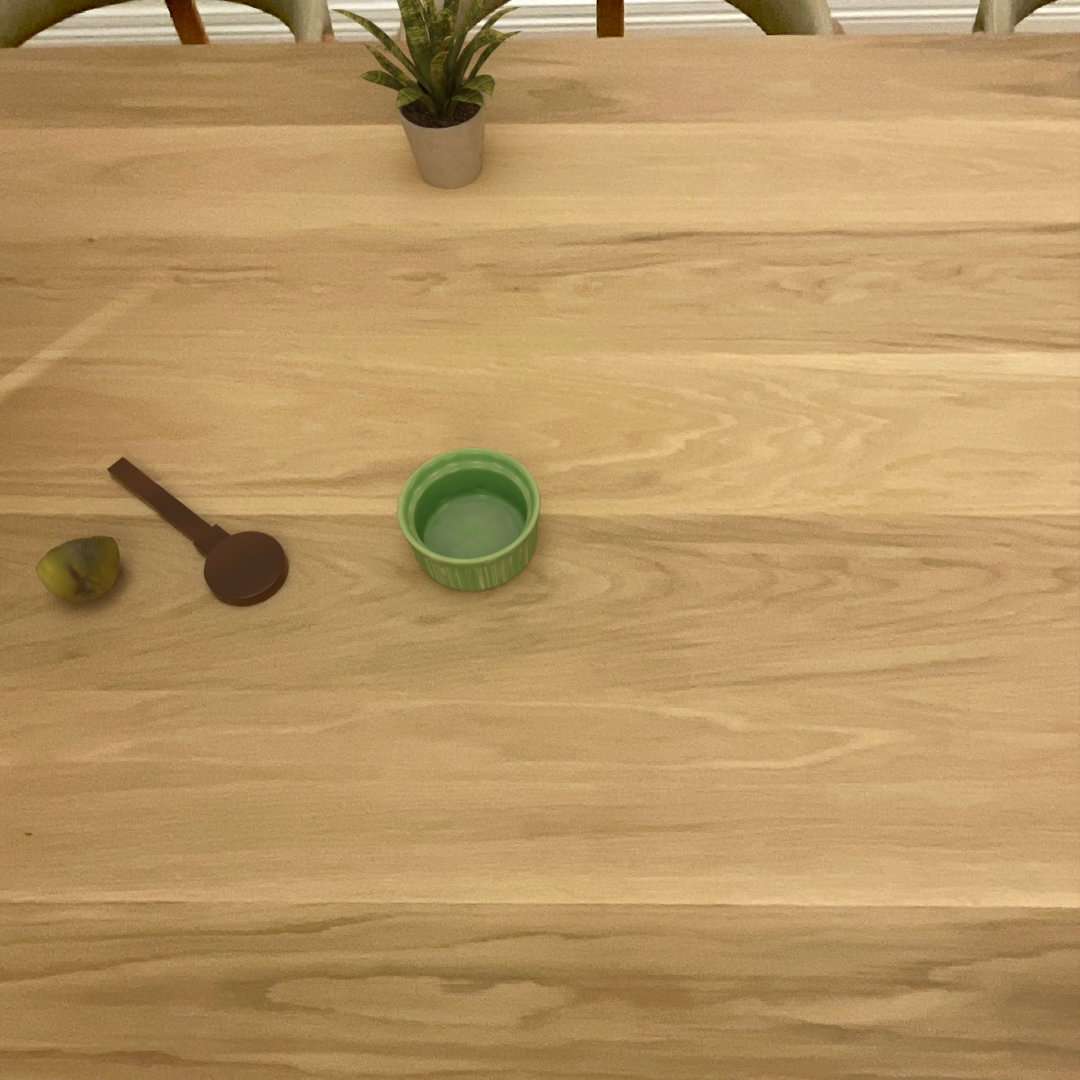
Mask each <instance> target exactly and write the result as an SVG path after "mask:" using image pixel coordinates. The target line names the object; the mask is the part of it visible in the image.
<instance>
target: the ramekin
mask: <svg viewBox="0 0 1080 1080" xmlns="http://www.w3.org/2000/svg"><path fill="white" fill-rule="evenodd" d="M541 500H542V499H541V492H540V489H539V485H538V483H537V480H536V479H535V477H534V475H533V474H532V473H531V471H530V470H529V469H528V467H527V466H525V465H524V464H523V463H522V462H521V461H519V459H517V458H515V457H513V456H511V455H510V454H508V453H506V452H503V451H500V450H496V449H493V448H486V447H479V446H478V447H477V446H476V447H473V446H472V447H462V448H460V447H459V448H456V449H455V448H454V449H451V450H447V451H445V452H441V453H439V454H437V455H434V456H433V457H431V458H429V459H428V460H426V461H425V462H423V463H422V464H421V465H419V466H418V468H416V469H415V470H414V471H413V472H412V473H411V475H409V477H408V478H407V480H406V481H405V483H404V484H403V486H402V488H401V491H400V493H399V496H398V499H397V506H396V514H397V515H396V516H397V523H398V525H399V528H400V531H401V533H402V535H403V536H404V538H405V540H406V541H407V543H408V544H409V545H410V547H411V549H412V551H413V554H414V556H415V559H416V561H417V563H418V564H419V566H420V567H421V569H422V570H423V571H424V572H425V574H426V575H427V576H429V577H430V578H431V579H432V580H433V581H435V582H436V583H438V584H440V585H442V586H445V587H447V588H449V589H453V590H455V591H463V592H480V591H481V592H482V591H486V590H490V589H493V588H497V587H499V586H501V585H504V584H505V583H507V582H509V581H510V580H512V579H514V578H515V577H516V576H518V575H519V574H520V573H521V572H523V570H524V569H525V568H526V567H527V566H528V564H529V563H530V561H531V559H532V557H533V556H534V553H535V549H536V546H537V541H538V522H539V518H540V514H541V505H542V504H541V503H542V501H541Z"/></svg>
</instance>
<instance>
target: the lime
mask: <svg viewBox="0 0 1080 1080" xmlns="http://www.w3.org/2000/svg"><path fill="white" fill-rule="evenodd" d="M119 548H120V547H119V545H118V543H117V541H116V539H114V537H113V536H108V535H92V536H88V537H81V538H80V537H79V538H74V539H71V540H67V541H65V542H61V544H59V545H57V546H55V547H53V548H51V549H49V551H47V552H46V553H45V555H44V556H43V557H42V558H41V559H40V560H39V561H38V562H37V564H36V566H35V572H36V574H37V577H38V580H40V582H41V584H42V585H43V586H44V587H45V589H46V590H47V591H48V592H50V593H51V594H52V595H53V596H55V597H58V598H60V599H63V600H65V601H68V602H73V603H85V602H90V601H93V600H96V599H97V598H99V597H101V596H103V595H104V594H105V593H107V592H108V591H110V589H112V587H113V586H114V584H115V583H116V581H117V580H118V577H119V573H120V568H121V567H120V566H121V556H120V555H121V554H120V553H121V552H120V549H119Z"/></svg>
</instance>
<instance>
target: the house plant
mask: <svg viewBox="0 0 1080 1080" xmlns="http://www.w3.org/2000/svg"><path fill="white" fill-rule="evenodd" d="M489 1H490V0H474V1H473V2H472V4H471V5H470V7H469V9H468V10H467V12H466V13H465V16H464V20H463V23H462V25H461V27H460V30H459V32H458V34H457V36H456V25H457V18H458V13H459V12H458V11H459V6H460V0H444V1H443V4H442V6H441V7H440V9H439V11H438V12H437V7H436V4H435V3H436V2H435V0H422V1H421V0H396V2H397V6H398V9H399V12H400V16H401V20H402V21H401V22H402V24H403V28H404V33H405V34H404V35H405V41H406V45H407V48H408V52H409V56H410V57H411V59H412V61H411V60H410V59H409V58H408V56H407V55H405V54H404V52H403V51H402V49H401V48H400V47H399V46H398V45H397V43H396V42H395V41H394V40H393V39H392V38H391V37H390V36H389V35H388V34H387V33H386V32H385V31H384V30H383V29H381V28H380V26H378V25H376V24H375V22H373V21H371V20H370V19H368V18H366V17H364V16H361V15H358V14H356V13H354V12H351V11H349V10H347V9H342V8H331V11H334V12H335V13H338V14H341V15H343V16H345V17H347V18H349V19H350V20H352V21H354V22H356V23H357V24H359V25H360V26H361V27H362V28H363V29H365V30H366V31H368V32H369V33H370V34H371V35H373V36H374V37H375V39H377V40H378V41H379V42H380V43H381V44H382V45H376V48H378V49H380V50H382V51H384V52H388V53H390V54H391V55H392V56H393V57H394V58H396V59H397V60H398V61H399V63H401V64H402V65H403V66H404V67H405V69H406V70H407V71H408V72H409V73H410V74H411V75H412V76H413V77H414V78H415V79H416V80H415V81H414V80H413V79H412V78H410V77H409V76H408V75H407V74H406V73H405V72H404V71H403V70H402V69H400V68H399V67H398V66H397V65H395V64H394V63H393V62H392V61H391V60H390V59H388V57H386V56H385V55H384V54H382V53H381V52H380V51H379V50H378V49H376V48H375V47H373V46H371V45H368V44H367V43H363V45H364V46H365V48H366V50H368V51H369V52H370V53H371V54H372V55H373V57H374V58H375V60H376V61H377V63H378V64H379V66H381V68H382V69H384V70H385V71H384V70H379V69H377V70H376V69H375V70H374V69H373V70H370V71H366V72H364V73H362V74H360V75H359V76H357V79H360V78H361V79H363V80H365V81H367V82H370V83H373V84H377V85H380V86H383V87H386V88H388V89H391V90H394V91H396V92H398V93H397V96H396V102H395V107H394V109H393V110H394V111H393V112H396V113H397V115H398V118H399V120H400V123H401V125H402V129H403V131H404V133H405V136H406V139H407V140H408V144H409V147H410V149H411V153H412V154H413V157H414V160H415V162H416V165H417V168H418V170H419V172H420V175H421V178H422V179H423V180H424V181H425V183H427V184H429V185H430V186H432V187H436V188H441V189H458V188H462V187H465V186H468V185H470V184H471V183H473V182H474V181H476V179H478V178H479V176H480V175H481V173H482V170H483V161H484V148H485V147H484V145H485V127H486V112H487V95H488V96H489V97H490V99H491V100H493V94H494V90H495V86H496V81H495V79H494V77H493V76H492V75H491V74H487V73H484V74H479V75H478V72H479V71H480V69H481V68H482V66H483V65H484V64H485V63H486V61H487V60H488V59H489V57H490V56H491V55H492V53H494V52H495V51H496V50H497V48H499V47H500V46H501V45H502V44H503V43H506V40H508V39H509V40H511V38H510V37H514V36H516V35H518V34H520V33H521V32H522V30H516V31H509V32H507V33H503V32H501V31H499V30H497V29H493V28H492V27H493V25H495V24H496V23H497V22H498V21H499V20H500V19H501V18H502V17H503V16H505V15H506V14H508V13H511V12H513V11H516V10H518V9H520V8H521V6H513V7H507V8H504V9H501V10H499V11H497V12H495V13H493V15H492V16H490V18H488V19H487V21H486V22H485V23H484V24H483V25H482V27H481V28H480V30H479V31H477V33H475V34H474V36H473V37H472V39H471V40H470V41H469V42H468V43H467V45H465V47H464V48H463V46H464V43H465V41H466V38H467V35H468V33H469V31H470V29H471V27H472V25H473V23H474V21H475V20H476V18H477V16H478V14H480V12H481V10H482V9H483V8H484V6H485V5H486V4H487V3H488V2H489ZM422 2H423V3H422ZM455 36H456V37H455ZM455 38H456V39H455ZM485 46H487V47H485ZM483 47H485V49H484V50H483V51H482V52H481V54H480V55H479V57H478V59H477V61H476V62H475V64H474V66H473V67H472V69H471V71H470V72H469V74H468V76H467V77H465V74H466V72H467V70H468V68H469V66H470V63H471V62H472V59H473V57H474V55H475V54H476V53H477V52H478V51H479V50H480V49H481V48H483ZM462 48H463V49H462Z"/></svg>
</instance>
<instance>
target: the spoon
mask: <svg viewBox="0 0 1080 1080" xmlns="http://www.w3.org/2000/svg"><path fill="white" fill-rule="evenodd" d="M106 471H107V472H108V474H109V475H110V477H112V478H113V479H114V480H115V481H117V482H118V483H119V484H120V485H122V486H123V487H124V488H125V489H127V490H128V491H129V492H130V493H131V494H133V495H134V496H135V497H136V498H138V499H139V500H140V501H142V502H143V503H144V504H145V505H147V506H148V507H149V508H150V509H152V511H154V512H155V513H157V514H158V515H159V516H160V517H162V518H163V519H164V520H165V521H167V522H168V523H169V524H170V525H172V526H173V527H174V528H176V529H177V531H179V532H180V533H182V534H183V535H184V536H185V537H186V538H187V539H189V540H190V541H192V542H193V543H192V544H193V546H194V548H195V549H196V551H197V552H198V553H200V554H201V555H202V556H203V557H205V558H206V559H205V561H204V564H203V577H204V581H205V583H206V585H207V586H208V588H209V590H210V592H211V593H212V595H213V596H214V597H215V598H216V599H217V600H219V601H220V602H222V603H224V604H226V605H230V606H234V607H249V606H253V605H257V604H261V603H262V602H265V601H266V600H268V599H270V598H271V597H272V596H274V595H275V594H276V593H278V591H279V590H280V589H281V588H282V586H283V585H284V583H285V581H286V579H287V576H288V572H289V560H288V558H287V555H286V552H285V551H284V548H283V546H282V545H281V543H280V542H279V541H278V540H277V538H274V537H273V536H272V535H270V534H268V533H265V532H263V531H255V530H249V531H247V530H246V531H240V532H236V533H234V534H230V533H229V532H227V531H226V530H225V529H223V528H222V526H220V525H218V524H217V523H215V524H214V525H213V526H212V525H211V524H210V523H208V522H207V521H205V520H204V518H202V517H200V516H199V515H198V514H196V512H194V511H193V510H192V509H190V508H189V507H188V506H187V505H185V504H184V503H183V502H182V501H180V500H179V499H178V498H176V497H175V496H174V495H173V494H171V492H169V491H168V490H166V489H165V488H164V487H162V486H161V485H160V484H159V483H157V482H156V481H155V480H153V479H152V478H151V477H150V476H148V475H147V474H146V473H145V472H143V471H142V470H141V469H139V468H138V467H137V466H135V465H134V464H133V463H132V462H131V461H129V460H128V459H126V458H125V457H124V456H121V457H120V458H119V459H118V460H117V461H115V462H114V463H112V464H111V465H110V466H109V467H108V468H107V469H106Z"/></svg>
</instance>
